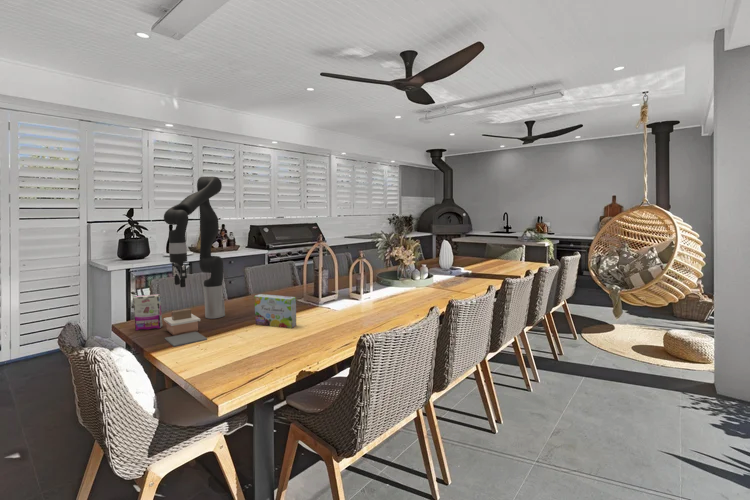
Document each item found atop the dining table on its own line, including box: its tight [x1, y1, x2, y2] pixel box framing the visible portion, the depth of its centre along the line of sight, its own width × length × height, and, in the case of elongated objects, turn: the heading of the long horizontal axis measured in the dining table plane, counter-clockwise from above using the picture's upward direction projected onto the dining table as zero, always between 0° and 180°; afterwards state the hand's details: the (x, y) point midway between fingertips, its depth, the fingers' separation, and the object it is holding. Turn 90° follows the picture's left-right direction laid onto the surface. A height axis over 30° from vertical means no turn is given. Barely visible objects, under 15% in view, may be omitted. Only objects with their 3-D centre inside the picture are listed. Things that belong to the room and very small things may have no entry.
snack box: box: [253, 293, 297, 330], centre depth 207 cm, size 21×6×15 cm, turn 71°
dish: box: [165, 321, 199, 336], centre depth 198 cm, size 11×11×5 cm
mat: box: [164, 331, 208, 348], centre depth 185 cm, size 14×14×1 cm
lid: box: [162, 308, 201, 326], centre depth 198 cm, size 13×13×5 cm
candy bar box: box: [132, 293, 163, 331], centre depth 202 cm, size 11×5×16 cm, turn 105°
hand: (180, 285), depth 196 cm, fingers open, 8 cm apart
